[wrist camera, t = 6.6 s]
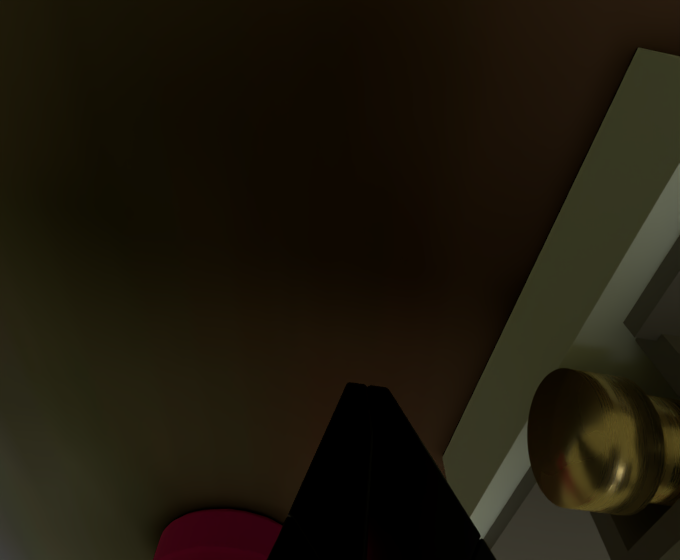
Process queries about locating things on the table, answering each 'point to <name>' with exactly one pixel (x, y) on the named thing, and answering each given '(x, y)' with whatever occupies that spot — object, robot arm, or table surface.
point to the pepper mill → (218, 536)
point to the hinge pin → (603, 443)
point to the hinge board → (587, 331)
